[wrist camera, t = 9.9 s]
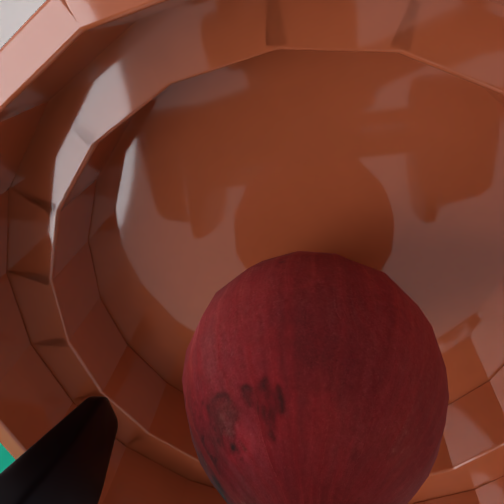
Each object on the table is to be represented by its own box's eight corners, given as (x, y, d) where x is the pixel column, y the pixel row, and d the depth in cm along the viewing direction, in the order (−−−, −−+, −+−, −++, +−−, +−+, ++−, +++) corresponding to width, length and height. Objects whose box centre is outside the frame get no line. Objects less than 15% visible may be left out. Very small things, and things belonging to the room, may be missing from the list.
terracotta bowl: (767, 252, 12) (1027, 405, 7) (329, 496, 20) (333, 635, 16) (254, -293, 8) (180, -630, 4) (-26, 292, 16) (-149, 402, 12)
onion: (227, 352, 15) (155, 649, 8) (206, 200, 12) (70, 467, 5) (401, 358, 14) (478, 694, 8) (424, 197, 11) (584, 507, 5)
